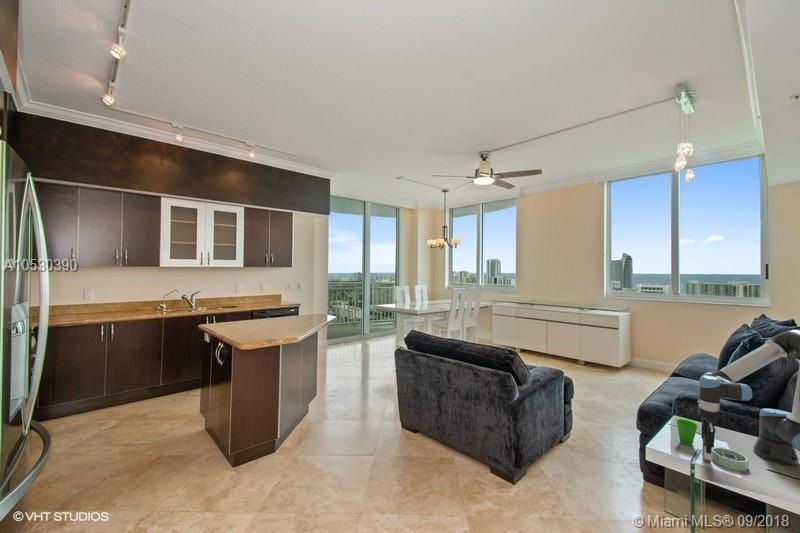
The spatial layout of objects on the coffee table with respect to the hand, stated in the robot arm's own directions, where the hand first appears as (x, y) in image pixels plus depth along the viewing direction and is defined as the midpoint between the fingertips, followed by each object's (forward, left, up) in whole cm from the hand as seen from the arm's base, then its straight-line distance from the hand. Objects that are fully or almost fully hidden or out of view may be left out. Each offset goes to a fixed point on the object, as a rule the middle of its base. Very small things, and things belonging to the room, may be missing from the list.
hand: (706, 457), depth 167 cm
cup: (+5, -16, -2) cm, 17 cm away
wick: (0, 0, -2) cm, 2 cm away
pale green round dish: (-9, -4, -2) cm, 10 cm away
